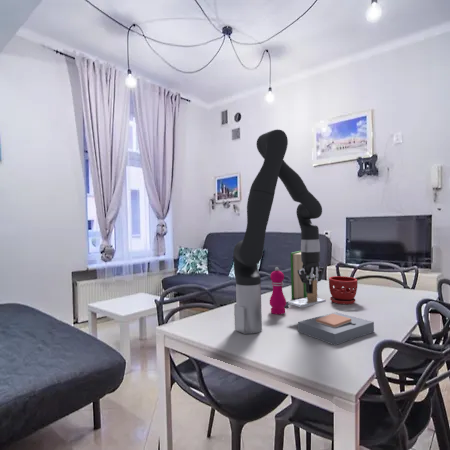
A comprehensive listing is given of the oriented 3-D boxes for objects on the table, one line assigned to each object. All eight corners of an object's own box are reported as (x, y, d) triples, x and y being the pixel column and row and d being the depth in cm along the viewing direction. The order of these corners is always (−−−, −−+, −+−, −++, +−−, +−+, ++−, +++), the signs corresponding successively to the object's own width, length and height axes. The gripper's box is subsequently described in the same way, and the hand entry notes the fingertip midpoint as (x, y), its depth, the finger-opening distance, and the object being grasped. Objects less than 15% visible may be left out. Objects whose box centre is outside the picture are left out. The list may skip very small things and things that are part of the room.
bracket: (311, 305, 152) (311, 300, 152) (285, 309, 146) (285, 303, 146) (294, 299, 165) (294, 294, 165) (269, 303, 160) (269, 297, 160)
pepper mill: (273, 309, 144) (272, 265, 144) (288, 311, 141) (287, 266, 141) (267, 313, 138) (266, 267, 138) (282, 315, 134) (281, 268, 135)
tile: (351, 318, 111) (351, 321, 111) (332, 313, 118) (332, 316, 118) (334, 324, 107) (334, 327, 107) (316, 319, 113) (316, 322, 113)
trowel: (301, 307, 121) (300, 284, 121) (288, 303, 127) (287, 281, 127) (325, 301, 128) (325, 280, 128) (312, 298, 134) (312, 277, 134)
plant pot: (329, 305, 150) (328, 279, 150) (329, 298, 163) (328, 275, 163) (359, 306, 146) (358, 280, 146) (357, 300, 158) (356, 276, 158)
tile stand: (335, 344, 101) (334, 332, 101) (298, 331, 114) (298, 320, 114) (374, 331, 112) (373, 320, 112) (336, 320, 125) (336, 311, 125)
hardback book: (305, 300, 160) (304, 253, 160) (291, 299, 164) (290, 252, 164) (315, 293, 175) (314, 250, 175) (302, 292, 179) (301, 250, 179)
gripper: (305, 252, 123) (306, 296, 123) (329, 249, 130) (330, 291, 130) (291, 251, 129) (292, 293, 129) (315, 248, 136) (316, 289, 136)
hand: (311, 292), depth 129 cm, fingers closed on trowel, 2 cm apart
